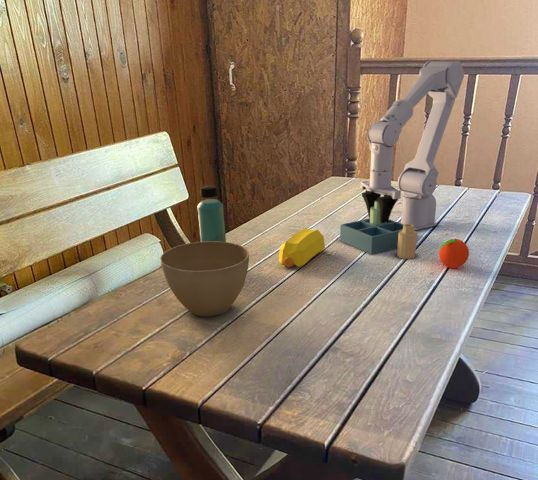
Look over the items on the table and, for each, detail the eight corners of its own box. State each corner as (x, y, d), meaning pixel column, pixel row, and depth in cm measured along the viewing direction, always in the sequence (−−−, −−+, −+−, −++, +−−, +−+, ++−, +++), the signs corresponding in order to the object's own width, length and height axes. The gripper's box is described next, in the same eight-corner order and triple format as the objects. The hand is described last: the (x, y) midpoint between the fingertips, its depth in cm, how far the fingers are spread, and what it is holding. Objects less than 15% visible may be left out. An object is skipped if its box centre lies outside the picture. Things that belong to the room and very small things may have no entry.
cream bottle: (406, 251, 152) (409, 221, 148) (418, 256, 148) (421, 226, 144) (393, 255, 150) (395, 224, 146) (405, 260, 146) (407, 229, 143)
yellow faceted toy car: (273, 268, 144) (301, 272, 141) (272, 242, 141) (301, 246, 138) (303, 246, 158) (329, 249, 155) (302, 222, 155) (329, 225, 152)
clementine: (445, 275, 137) (448, 246, 133) (427, 265, 142) (430, 237, 139) (473, 269, 139) (477, 240, 136) (454, 260, 145) (458, 232, 141)
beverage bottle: (224, 271, 144) (218, 190, 134) (199, 270, 145) (190, 189, 136) (231, 262, 149) (225, 183, 140) (206, 261, 151) (199, 183, 141)
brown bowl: (169, 332, 115) (161, 274, 109) (165, 297, 131) (159, 245, 125) (258, 321, 118) (255, 265, 112) (244, 288, 134) (241, 237, 128)
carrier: (379, 231, 168) (380, 216, 165) (412, 244, 157) (413, 227, 155) (339, 240, 162) (340, 224, 160) (371, 254, 151) (372, 237, 149)
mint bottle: (378, 226, 165) (380, 198, 161) (389, 230, 161) (391, 201, 158) (366, 229, 163) (367, 200, 159) (376, 233, 159) (378, 204, 156)
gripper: (352, 167, 158) (350, 216, 165) (387, 176, 147) (383, 228, 154) (373, 163, 161) (370, 212, 168) (408, 172, 150) (404, 224, 157)
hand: (378, 219), depth 161 cm, fingers closed on mint bottle, 4 cm apart
